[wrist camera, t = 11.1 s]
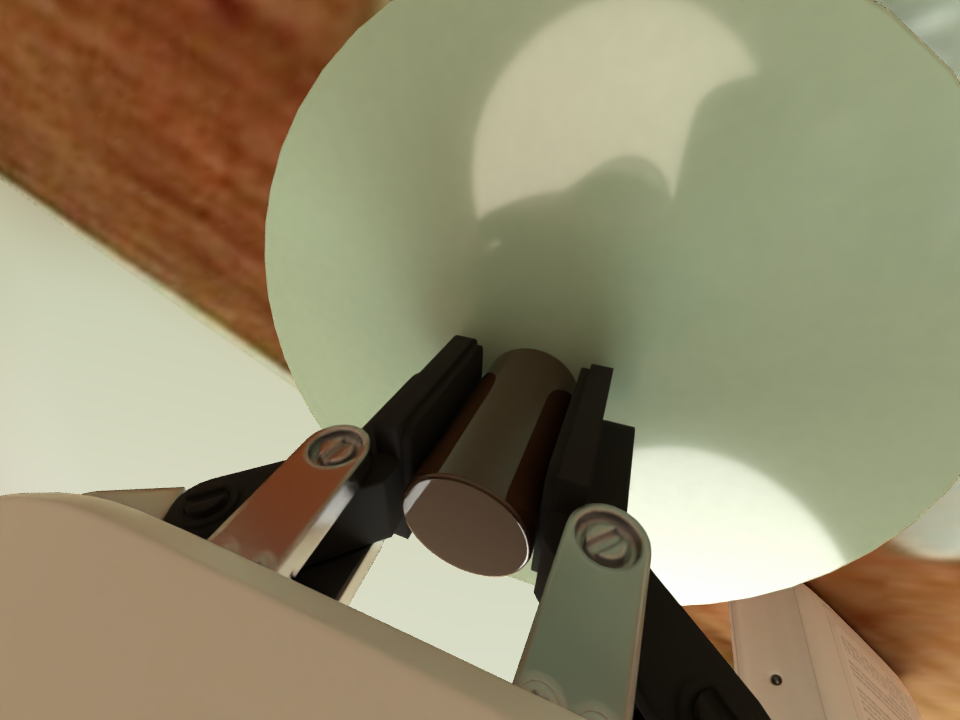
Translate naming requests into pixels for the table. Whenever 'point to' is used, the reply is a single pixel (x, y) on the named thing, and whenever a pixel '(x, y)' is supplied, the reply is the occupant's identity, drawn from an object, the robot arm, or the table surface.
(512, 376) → the lid
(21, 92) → the table surface
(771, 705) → the photo printer
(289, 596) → the robot arm
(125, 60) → the table surface
